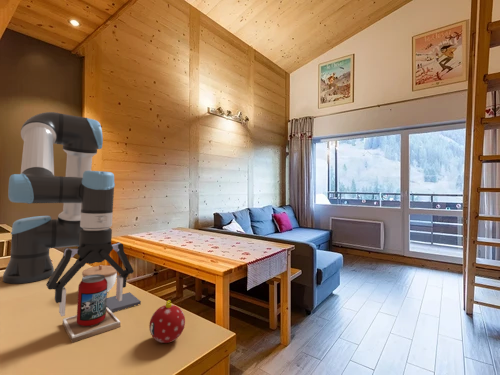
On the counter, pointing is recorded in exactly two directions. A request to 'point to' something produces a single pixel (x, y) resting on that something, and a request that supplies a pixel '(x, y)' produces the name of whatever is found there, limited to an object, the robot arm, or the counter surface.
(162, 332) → the christmas ornament
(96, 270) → the lidded jar
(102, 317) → the beverage can
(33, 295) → the counter surface
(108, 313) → the board
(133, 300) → the pad
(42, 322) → the counter surface
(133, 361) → the counter surface
